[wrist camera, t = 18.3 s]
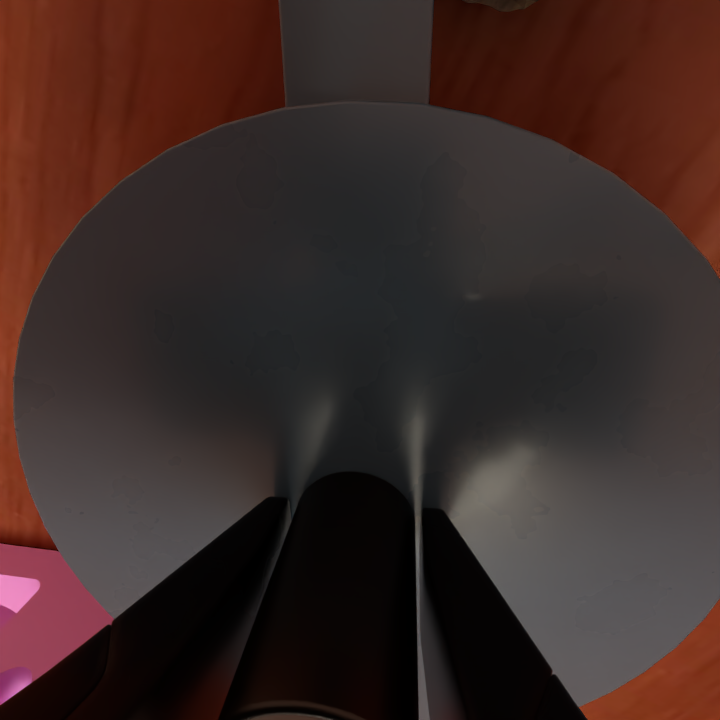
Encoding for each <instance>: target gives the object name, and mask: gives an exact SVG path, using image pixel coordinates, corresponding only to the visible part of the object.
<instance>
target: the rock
mask: <svg viewBox="0 0 720 720" xmlns="http://www.w3.org/2000/svg"><path fill="white" fill-rule="evenodd" d="M463 1H464V2H466V3H480V4H484V5H487V6H490V7H492V8H494V9H496V10H498V11H502V12H511V11H514V10H517V9H525V8H527V7H528V6H530V5H532V4H533V3H535V2H537V1H538V0H463Z"/></svg>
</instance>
